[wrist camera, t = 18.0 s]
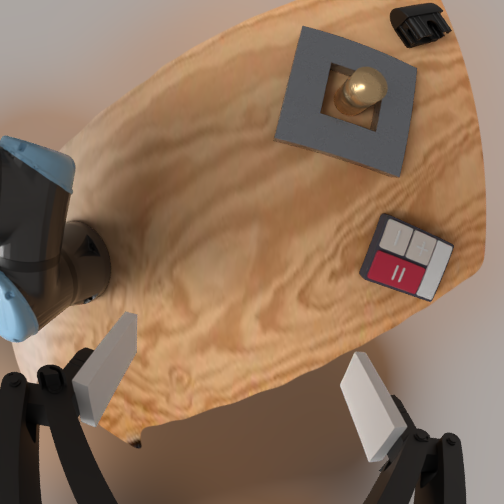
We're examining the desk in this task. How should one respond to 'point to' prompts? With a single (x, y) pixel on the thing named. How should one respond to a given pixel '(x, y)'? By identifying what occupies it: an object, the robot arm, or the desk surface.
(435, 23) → the end cap
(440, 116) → the desk surface
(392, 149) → the frame
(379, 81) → the metal cylinder
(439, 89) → the desk surface
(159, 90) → the desk surface
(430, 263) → the calculator
